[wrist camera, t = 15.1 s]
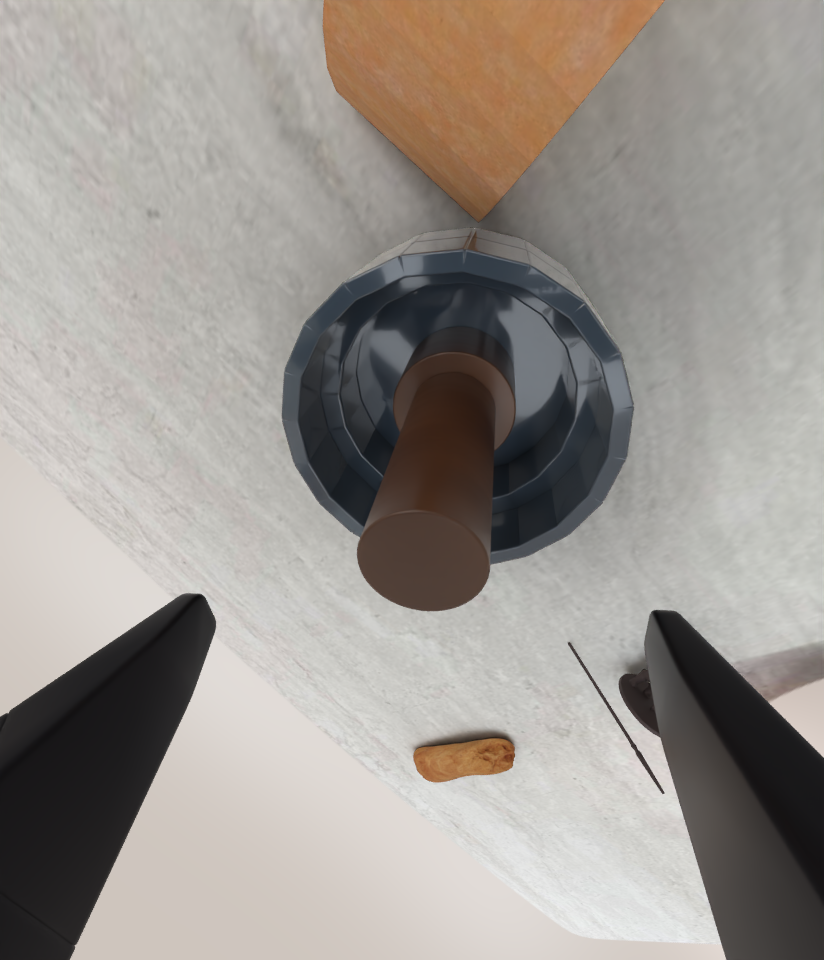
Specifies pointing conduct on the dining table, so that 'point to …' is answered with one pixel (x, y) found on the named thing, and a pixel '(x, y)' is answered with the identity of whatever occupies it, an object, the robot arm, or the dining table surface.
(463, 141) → the arch
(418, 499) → the muddler
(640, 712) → the dark disc and stick
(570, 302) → the bowl
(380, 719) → the dining table surface
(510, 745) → the brown rounded lump
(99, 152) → the dining table surface
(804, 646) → the dining table surface
